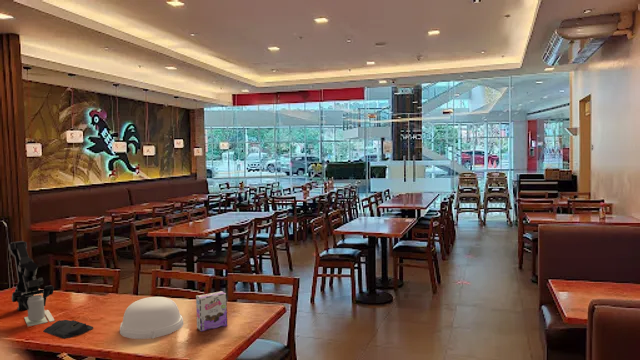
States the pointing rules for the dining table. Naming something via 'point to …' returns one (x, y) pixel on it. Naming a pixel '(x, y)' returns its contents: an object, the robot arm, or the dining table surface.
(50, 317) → the strip
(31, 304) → the can
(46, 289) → the robot arm
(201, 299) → the candy box
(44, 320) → the pad
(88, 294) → the dining table surface
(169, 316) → the dome cover
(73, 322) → the dark slate chunk
